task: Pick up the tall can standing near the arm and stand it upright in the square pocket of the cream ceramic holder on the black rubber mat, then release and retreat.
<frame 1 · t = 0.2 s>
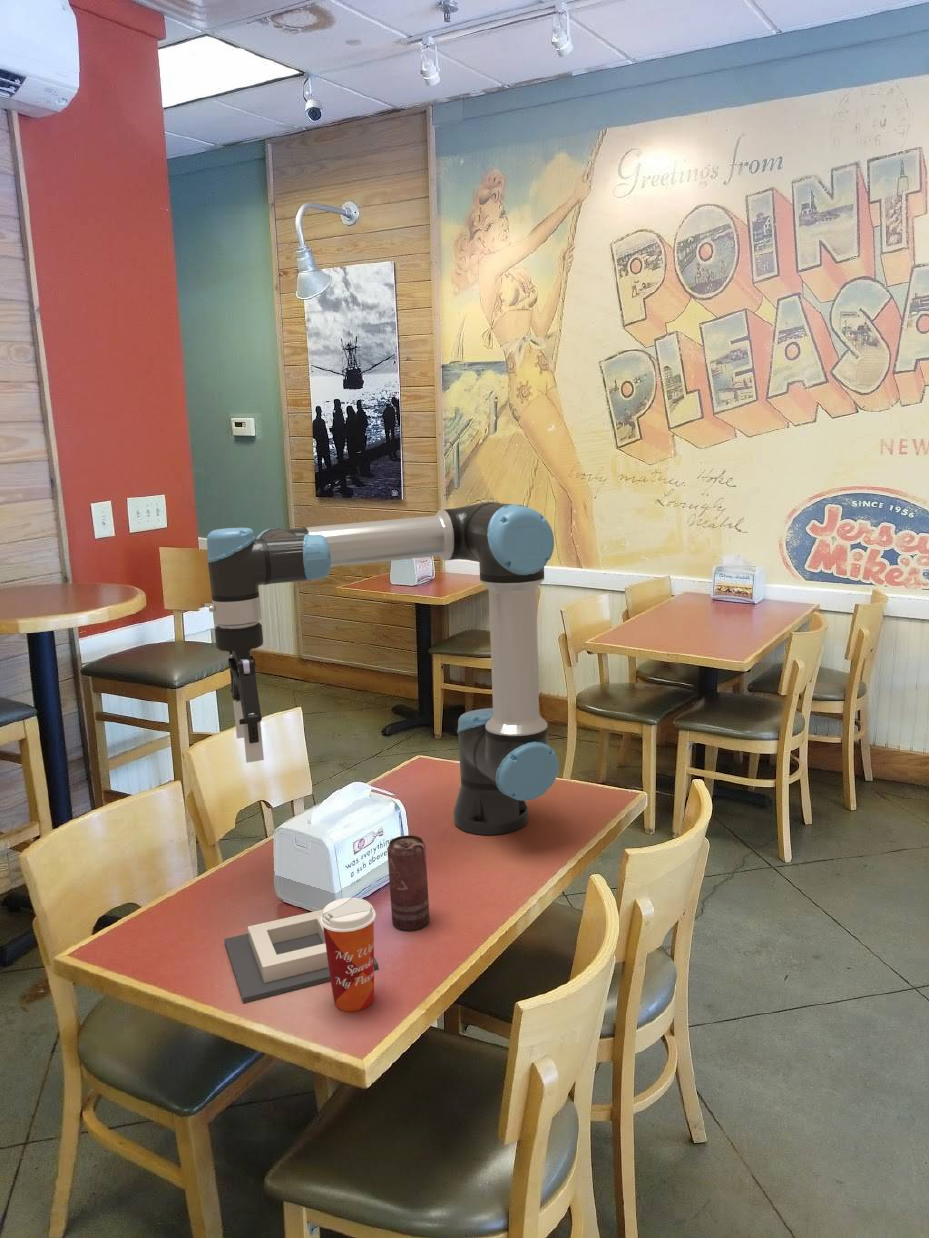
hand: (249, 748, 161), 28 cm above the table, fingers open, 13 cm apart
paper cup: (354, 1001, 137), on the table
holder: (298, 950, 149), resting on mat
can: (411, 923, 158), on the table
mat: (299, 955, 149), on the table
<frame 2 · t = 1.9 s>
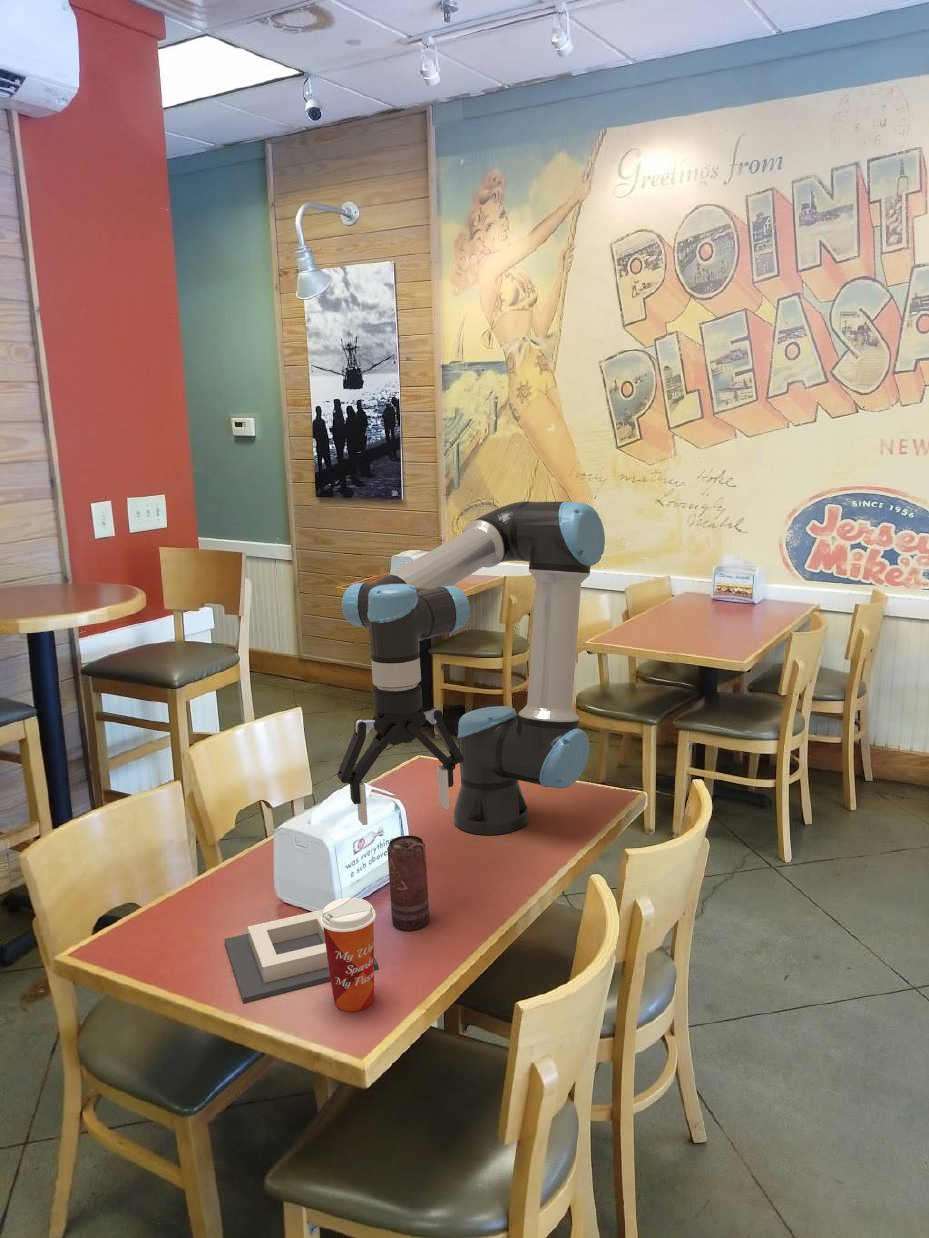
hand: (404, 814, 154), 19 cm above the table, fingers open, 13 cm apart
nothing on the table moved.
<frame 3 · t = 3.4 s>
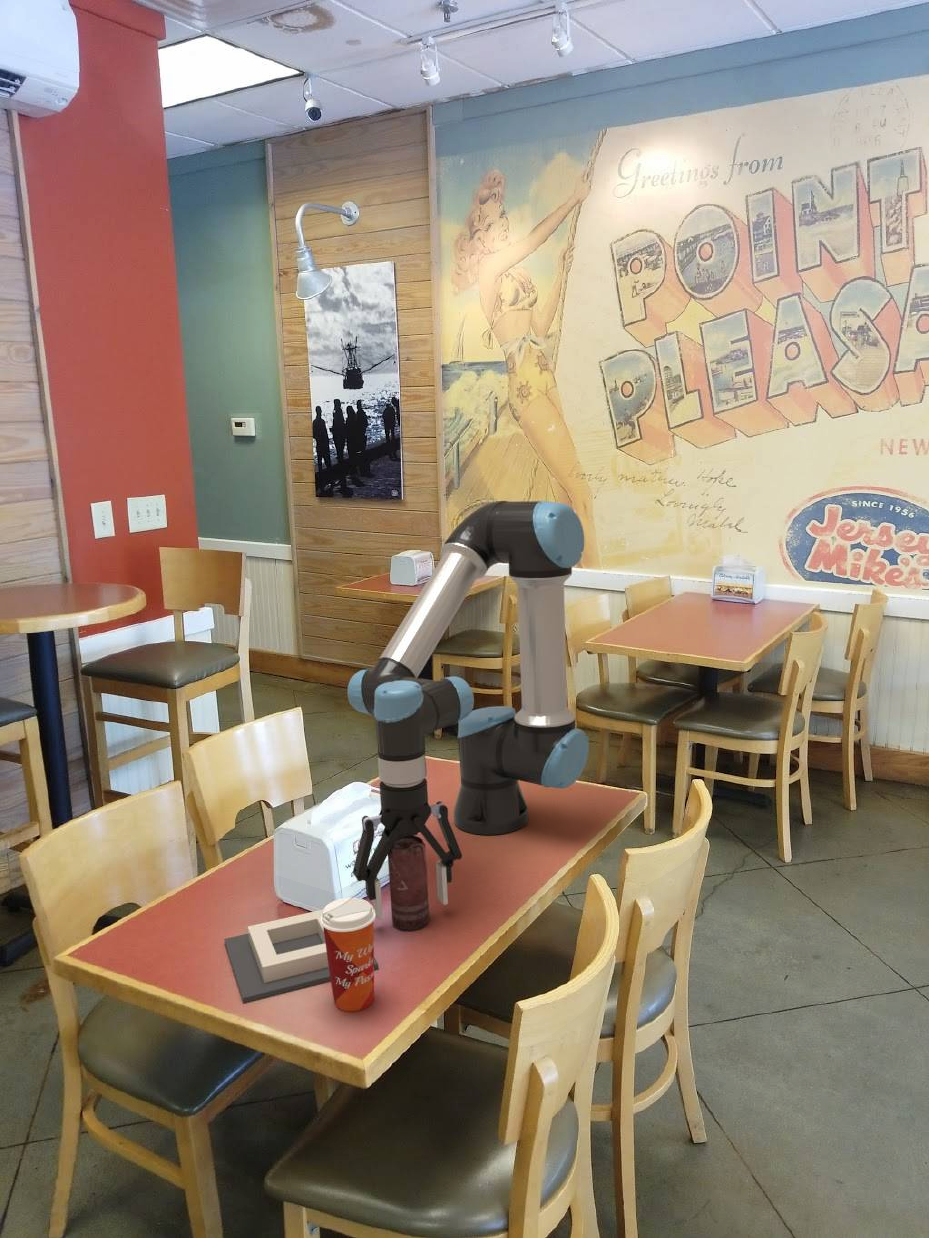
hand: (410, 908, 157), 2 cm above the table, fingers open, 10 cm apart
nothing on the table moved.
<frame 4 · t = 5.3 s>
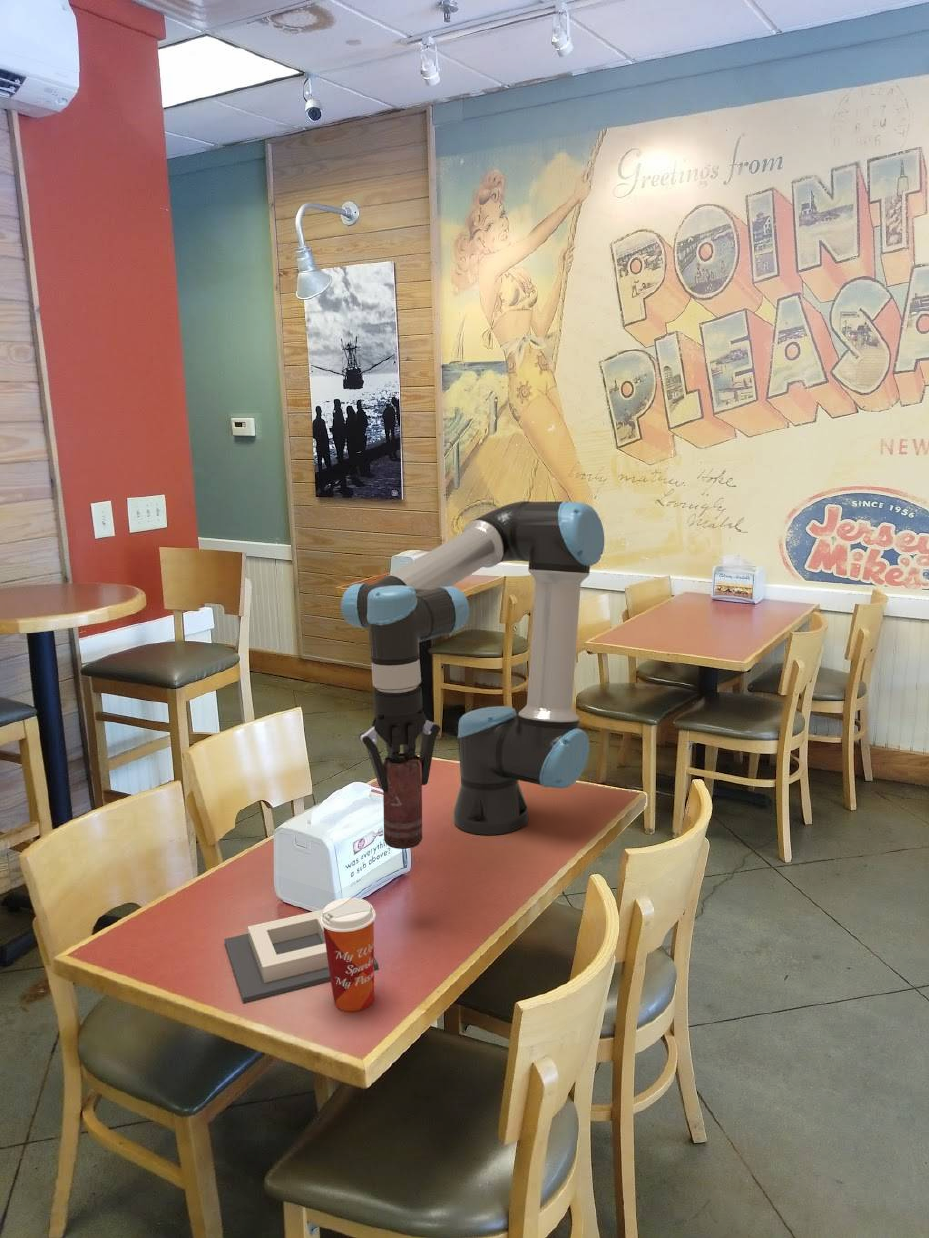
hand: (406, 828, 154), 16 cm above the table, fingers closed
can: (404, 843, 154), point 14 cm above the table, touching hand
everything else where it was.
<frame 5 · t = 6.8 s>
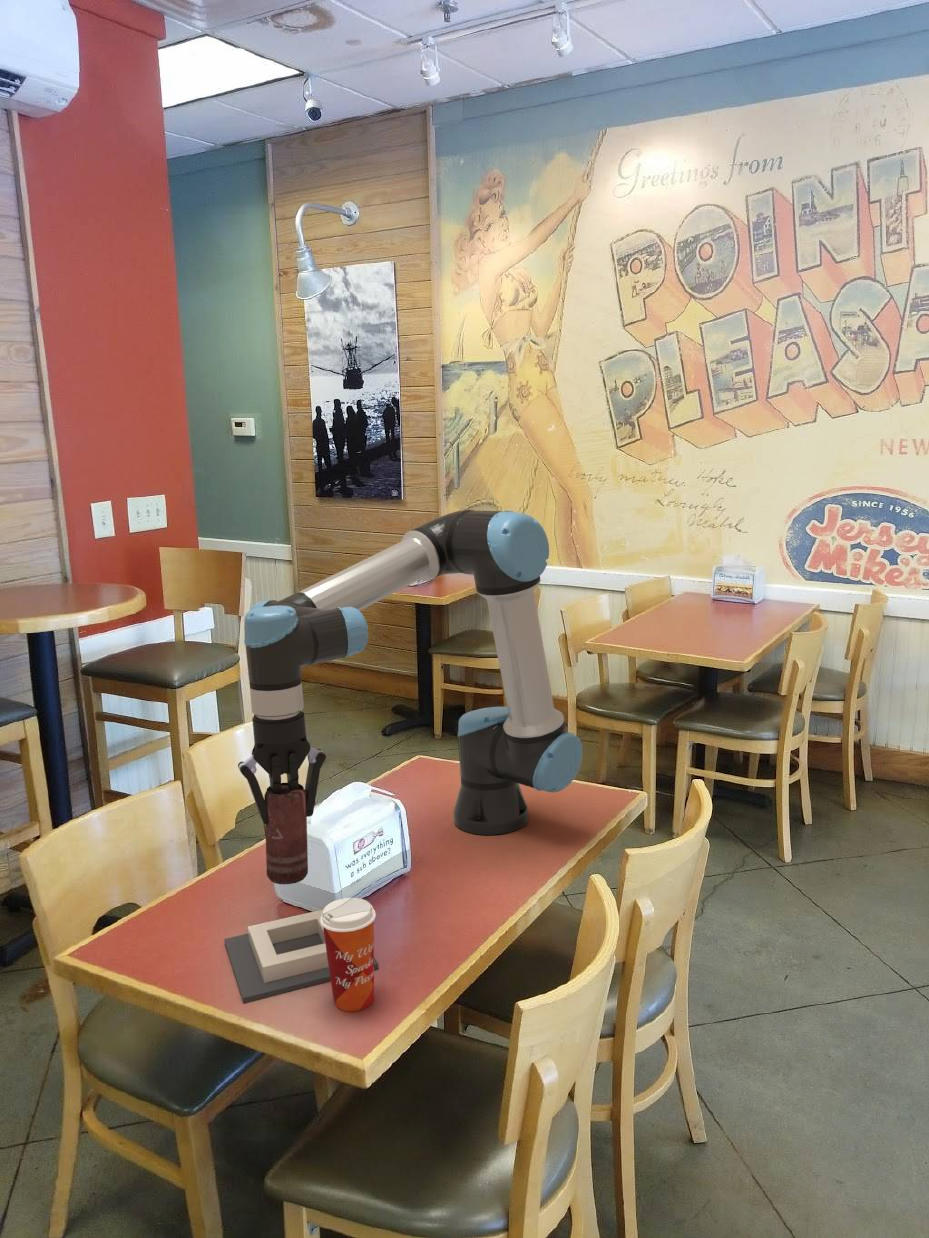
hand: (291, 862, 146), 15 cm above the table, fingers closed
can: (288, 877, 146), point 13 cm above the table, touching hand
everything else where it was.
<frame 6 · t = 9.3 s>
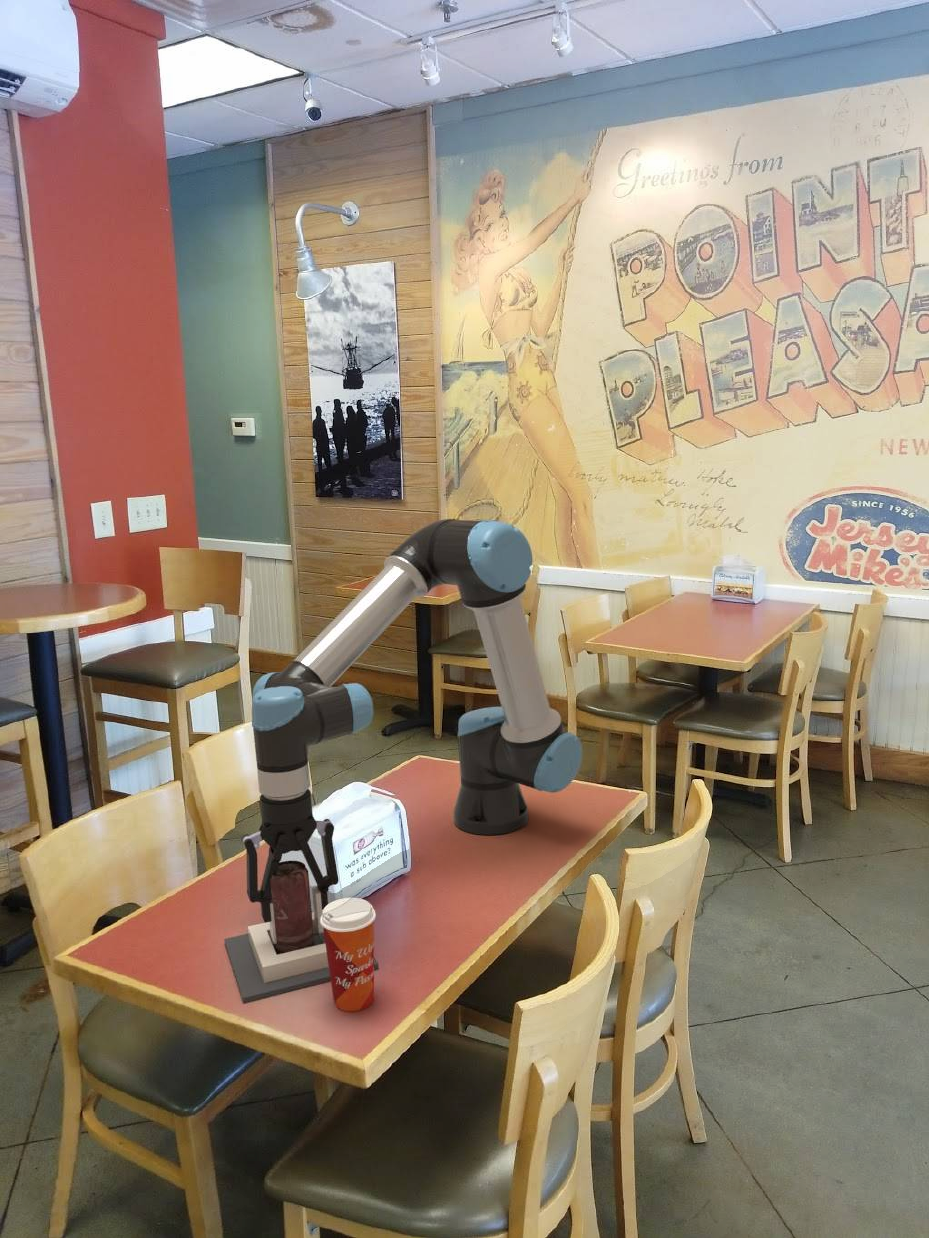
hand: (297, 933, 148), 4 cm above the table, fingers open, 6 cm apart
can: (295, 953, 148), point 1 cm above the table, touching mat
everything else where it was.
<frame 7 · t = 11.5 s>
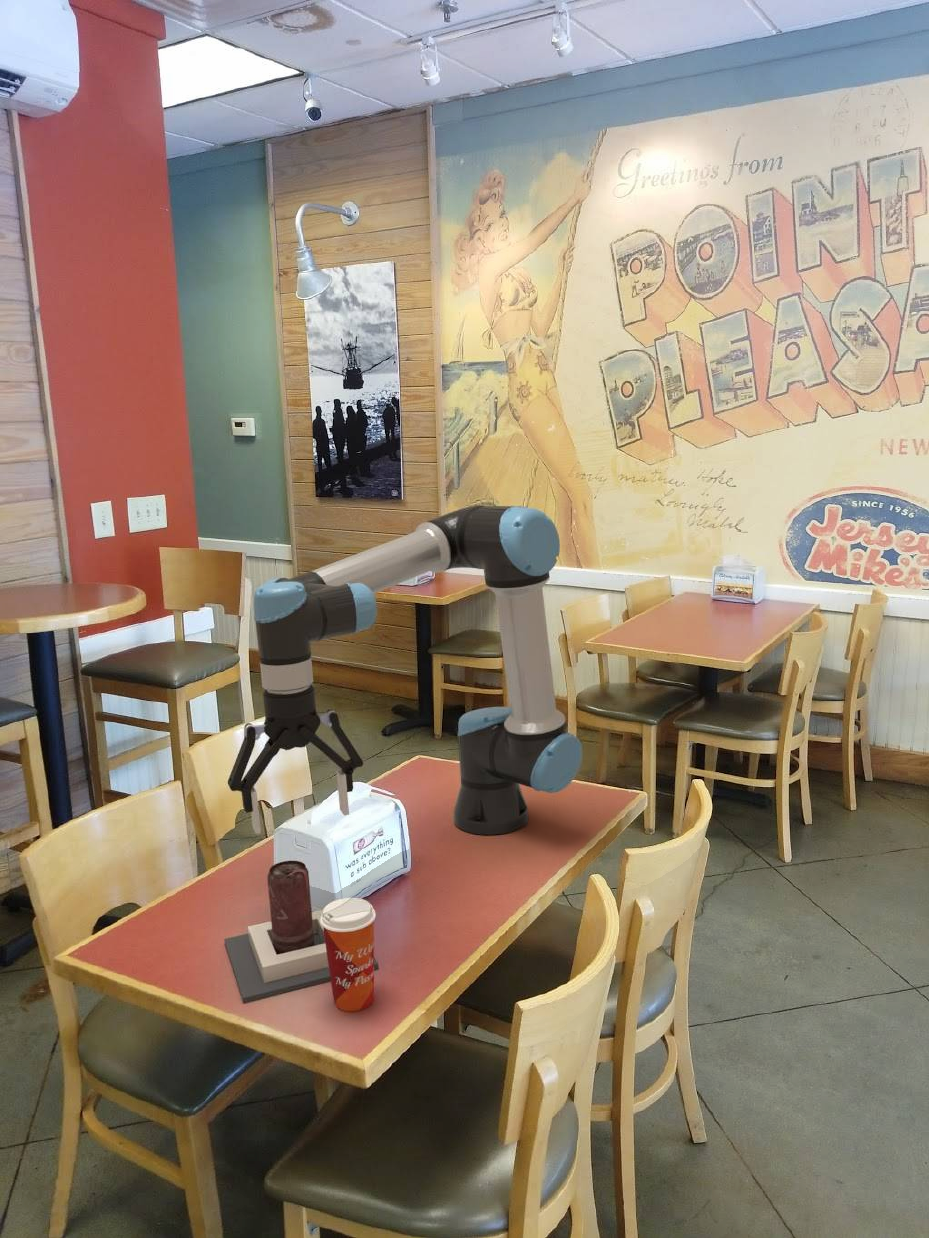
hand: (301, 821, 148), 21 cm above the table, fingers open, 13 cm apart
nothing on the table moved.
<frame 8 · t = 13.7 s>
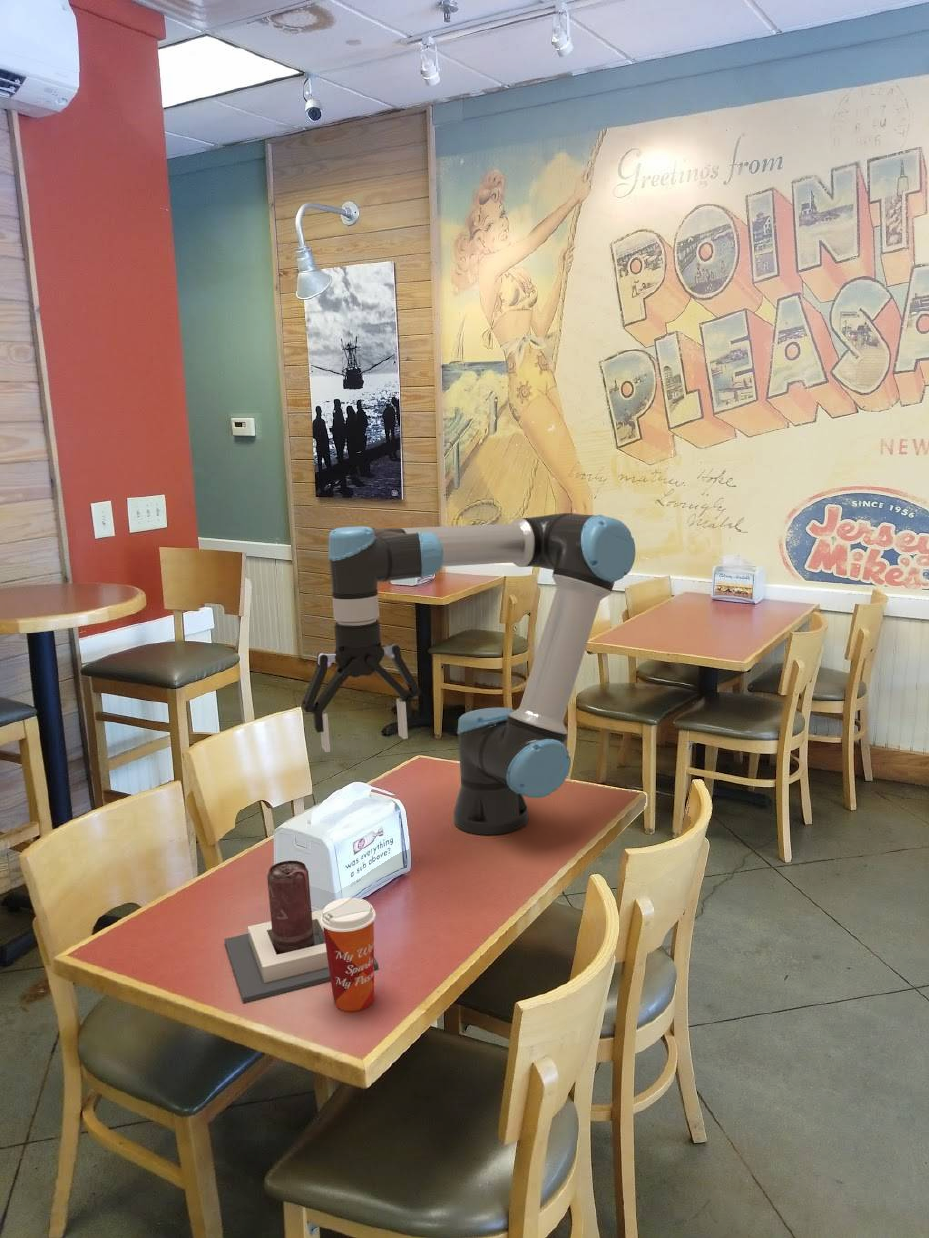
hand: (365, 743, 164), 27 cm above the table, fingers open, 13 cm apart
nothing on the table moved.
at the end: can 0.6 cm off-centre on the holder, point 0.0 cm above the holder's base; can tilted 0°; the gripper is holding nothing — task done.
